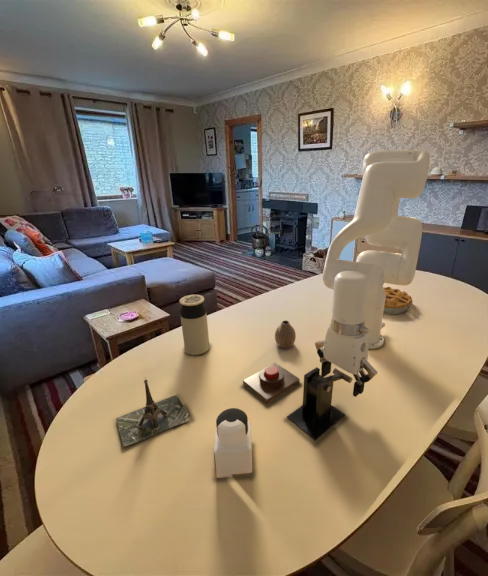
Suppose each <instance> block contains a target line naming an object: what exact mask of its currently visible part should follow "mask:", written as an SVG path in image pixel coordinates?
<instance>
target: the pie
mask: <svg viewBox="0 0 488 576" xmlns="http://www.w3.org/2000/svg"><path fill="white" fill-rule="evenodd" d="M383 288H384V290H385V293H386V299H385V305H384V312H383V314H385V315H398V314H402V313H404V312H406V310H408V308H409V307H410V306H412V305H413V298H412V296H411V295H409V294H408V292H406V291H402V290H400V289H398V288H392V287H391V286H386V287H385V286H383Z"/></svg>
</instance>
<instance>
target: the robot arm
mask: <svg viewBox="0 0 488 576" xmlns="http://www.w3.org/2000/svg"><path fill="white" fill-rule="evenodd" d="M431 163H432V161H431V154H430V153H429V151H426V150H424V149H382V150H375V151H370V152H368V153H367V154H366V155H365V156H364V158H363V161H362V172H363V173H362V174H363V175H362V178H361V179H362V180H361V183H360V187H359V193H358V197H357V202H356V206H355V211H354V215H353V218H352V220H351V221H350V222H349V223H347V224H346V225H345V226H344V227H342V228H341V229H340V230H339V231H338V233H336V234H335V236H334V237H333V239H332V240H331V242H330V244H329V246H328V248H327V253H326V256H325V261H324V265H323V271H322V282H323V284H324V286H325V287H326V288H328V289H331V290H333V291H332V304H331V315H330V316H331V317H330V323H329V324H328V326H327V329H326V333H325V337H324V340H317V341H316V342H315V343H314V345H315V348H316V349H315V350H316V353H317V355H318V358H319V362H320V363H321V366H320V367H321V368H320V373H321V374H320V375H321V376H323V377H327V376H328V375H329V374H331V371H332V365H334V366H336V367H338V368H339V369H341V370H342V371H345V372H347V373H348V374H350V375H351V374H352V375H353V376H352V377H354V380H355V382H354V383H353V389H352V396H353V397H355V398H356V397H357V396H359V395H362V394H363V392H364V389H365V384H366V383H368V382H370V381H371V380H372V379H373V378H375V376H376V375H378V371H377V370H376V369H375V368H374V367H373V365H372V364H371V363H370V361H368V356H369V350H375V349H378V348H381V347H382V346H383V345H384V343H385V338H384V335H382V334H381V330H382V329H384V328H385V327H386V323H385V322H384V321H383V317H384V313H383V312H384V305H385V299H386V293H385V290H384V288H383V287H384V284H390V285H396V286H403V287H404V286H409V285H410V284H412V283H413V281H414V279H415V275H416V270H417V266H418V261H419V253H420V248H421V242H422V236H423V223H422V221H421V220H420V219H419V218H417V217H413V216H404V215H403V216H402V215H399V208H400V203H401V202H400V201H401V199H416V198H419V197H420V196H421V195H422V193H423V192H424V189H425V186H426V184H427V179H428V176H429V173H430V170H431ZM362 238H365V239H364V240H365V242H366V243H367V244H368V245H370V246H373V247H380V248H389V249H398V250H400V251H401V253H400V252H390V251H382V250H374V249H370V250H369V249H368V250H364V251H361V252H360V253H359V254H358V255H357V257H356V260H355V261H353V260H344V259H340V257H341V255H342V252H343V250H344V249H345V248H346V247H347V246H348V245H349V244H350V243H352V242H354V241H357V240H358V239H362ZM365 371H366V372H367V374H366V372H365Z"/></svg>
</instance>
